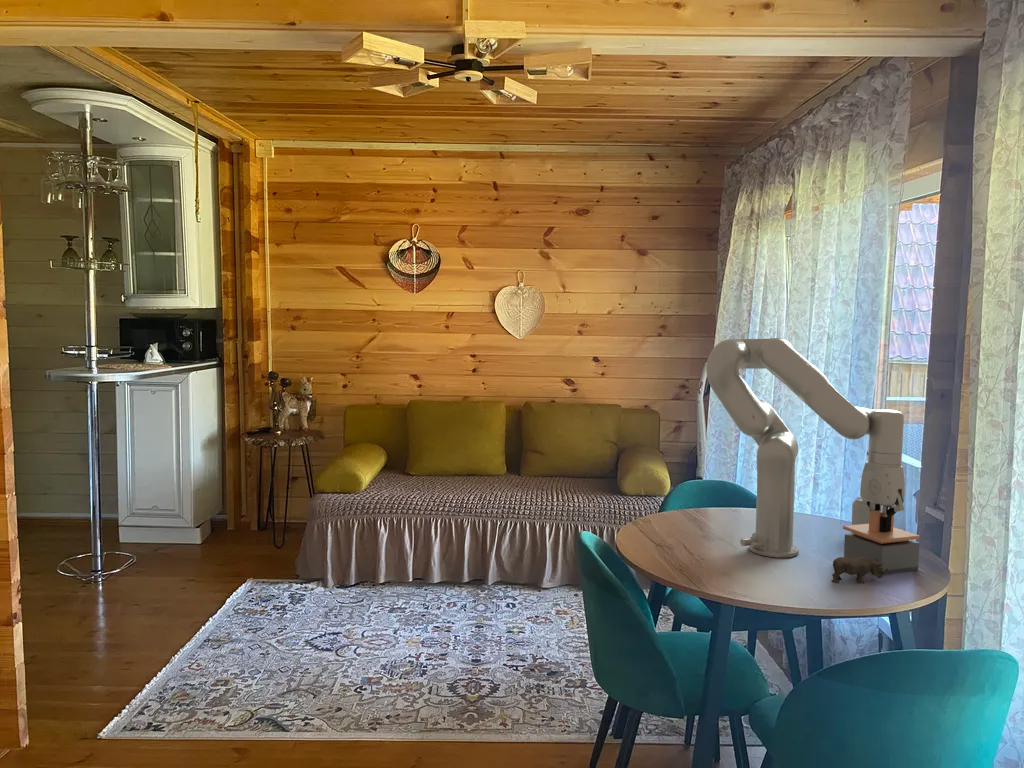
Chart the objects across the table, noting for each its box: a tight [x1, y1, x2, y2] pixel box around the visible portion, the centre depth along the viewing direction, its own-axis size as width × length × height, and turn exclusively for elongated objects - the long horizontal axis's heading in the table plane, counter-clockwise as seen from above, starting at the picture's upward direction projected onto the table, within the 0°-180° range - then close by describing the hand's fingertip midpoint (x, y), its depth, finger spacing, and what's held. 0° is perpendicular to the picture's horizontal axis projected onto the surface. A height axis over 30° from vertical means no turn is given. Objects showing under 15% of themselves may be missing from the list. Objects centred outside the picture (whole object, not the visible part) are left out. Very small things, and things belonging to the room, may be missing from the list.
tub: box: [843, 532, 920, 576], centre depth 185 cm, size 12×12×7 cm
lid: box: [842, 509, 921, 544], centre depth 185 cm, size 12×12×7 cm
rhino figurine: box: [831, 556, 888, 585], centre depth 174 cm, size 4×14×6 cm, turn 90°
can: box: [850, 496, 870, 534], centre depth 207 cm, size 8×8×12 cm
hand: (880, 529), depth 185 cm, fingers closed on lid
